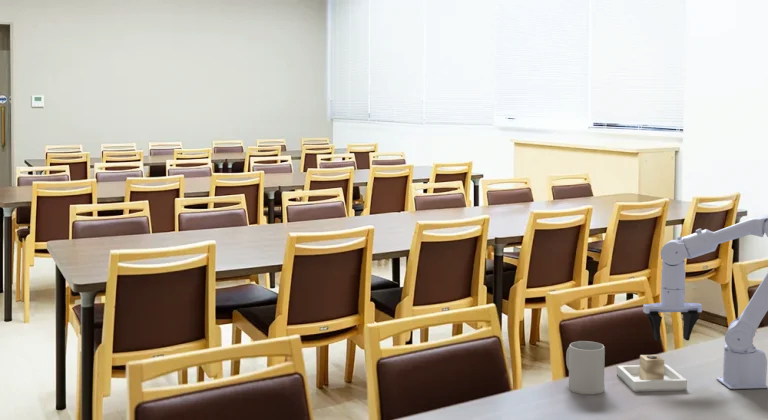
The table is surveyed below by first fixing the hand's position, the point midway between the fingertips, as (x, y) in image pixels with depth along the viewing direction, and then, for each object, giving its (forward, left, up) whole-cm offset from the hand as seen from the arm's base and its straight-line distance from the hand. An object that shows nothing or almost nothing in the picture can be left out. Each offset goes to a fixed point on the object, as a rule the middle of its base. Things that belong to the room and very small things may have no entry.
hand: (671, 339), depth 214 cm
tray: (+7, +5, -9) cm, 13 cm away
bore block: (+7, +5, -9) cm, 12 cm away
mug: (+25, +7, -10) cm, 28 cm away
